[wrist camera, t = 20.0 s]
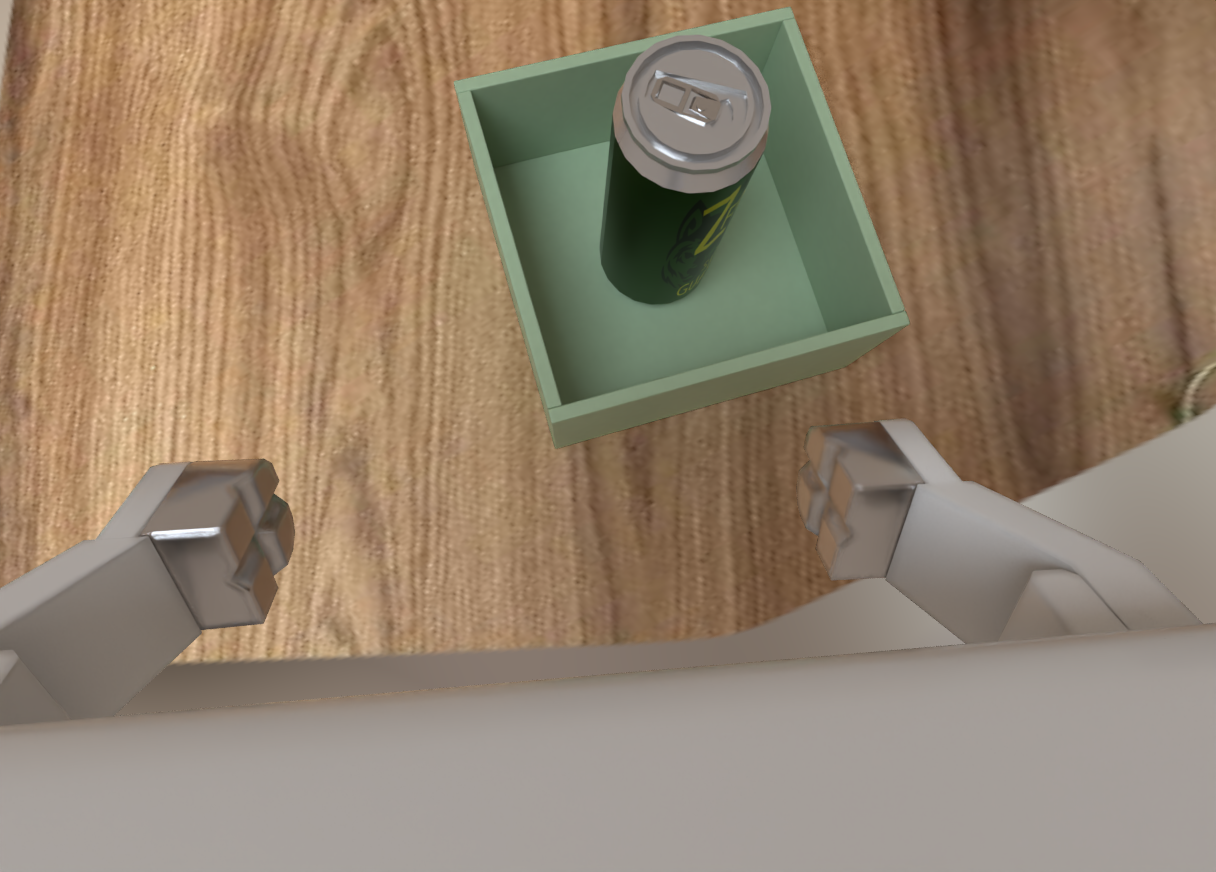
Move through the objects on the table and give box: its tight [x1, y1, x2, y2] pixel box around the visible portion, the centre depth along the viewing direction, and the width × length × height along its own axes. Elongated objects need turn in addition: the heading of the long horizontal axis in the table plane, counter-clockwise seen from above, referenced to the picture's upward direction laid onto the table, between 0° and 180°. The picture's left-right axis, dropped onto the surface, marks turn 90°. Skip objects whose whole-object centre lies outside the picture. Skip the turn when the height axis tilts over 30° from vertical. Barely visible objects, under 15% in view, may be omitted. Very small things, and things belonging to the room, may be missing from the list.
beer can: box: [599, 35, 771, 305], centre depth 28 cm, size 5×5×12 cm
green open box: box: [454, 7, 910, 449], centre depth 31 cm, size 15×15×7 cm
